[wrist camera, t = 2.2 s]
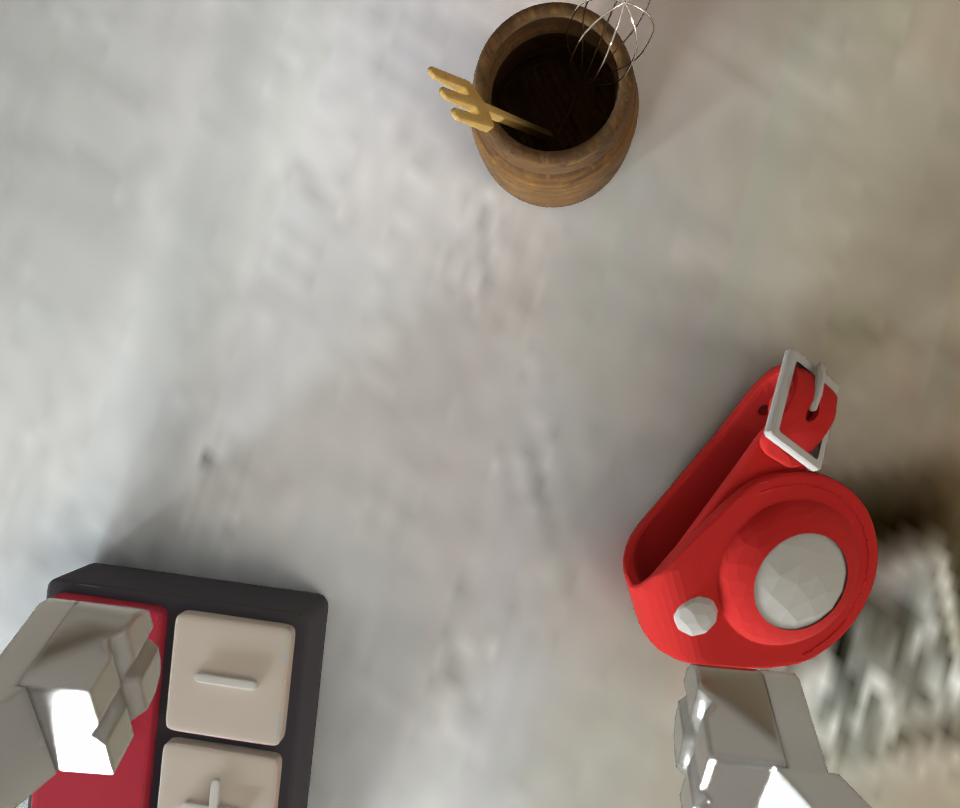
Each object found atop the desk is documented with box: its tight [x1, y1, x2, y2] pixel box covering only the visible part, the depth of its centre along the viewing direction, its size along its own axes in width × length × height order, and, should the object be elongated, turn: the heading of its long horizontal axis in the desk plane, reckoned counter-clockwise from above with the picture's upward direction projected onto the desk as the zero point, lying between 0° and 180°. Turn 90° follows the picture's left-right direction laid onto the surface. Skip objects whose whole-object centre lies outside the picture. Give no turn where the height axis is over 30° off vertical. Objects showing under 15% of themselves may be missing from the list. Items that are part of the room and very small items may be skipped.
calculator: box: [28, 563, 328, 808], centre depth 35 cm, size 11×4×15 cm
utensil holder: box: [428, 0, 655, 207], centre depth 27 cm, size 6×6×12 cm
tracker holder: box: [623, 348, 878, 668], centre depth 32 cm, size 12×4×10 cm
